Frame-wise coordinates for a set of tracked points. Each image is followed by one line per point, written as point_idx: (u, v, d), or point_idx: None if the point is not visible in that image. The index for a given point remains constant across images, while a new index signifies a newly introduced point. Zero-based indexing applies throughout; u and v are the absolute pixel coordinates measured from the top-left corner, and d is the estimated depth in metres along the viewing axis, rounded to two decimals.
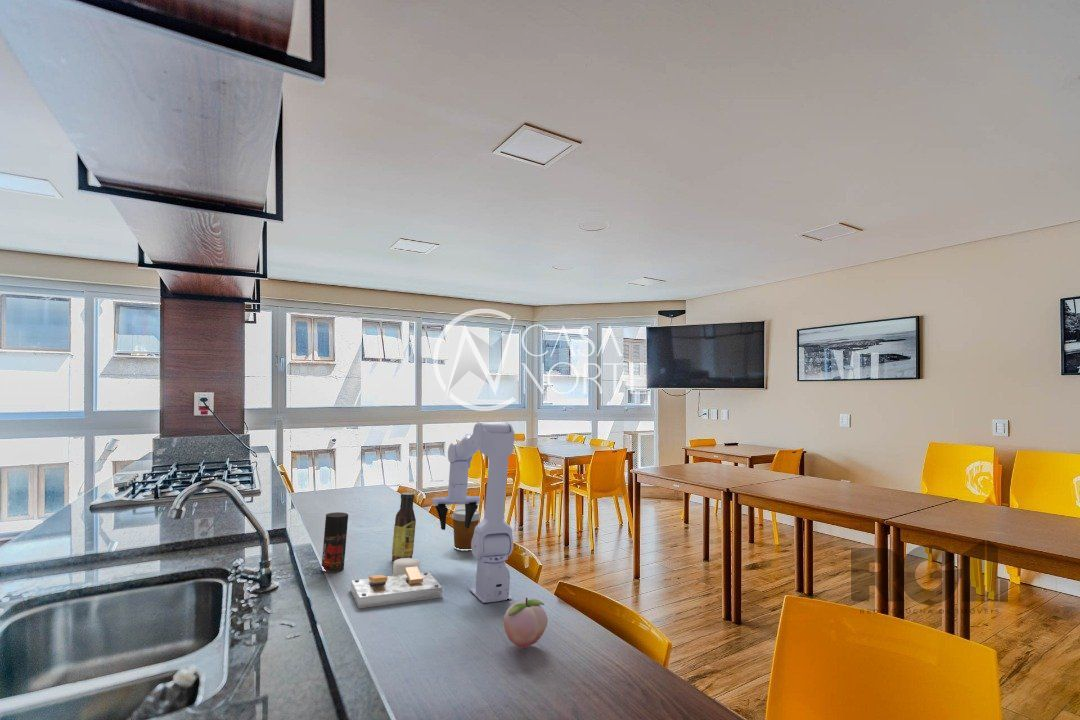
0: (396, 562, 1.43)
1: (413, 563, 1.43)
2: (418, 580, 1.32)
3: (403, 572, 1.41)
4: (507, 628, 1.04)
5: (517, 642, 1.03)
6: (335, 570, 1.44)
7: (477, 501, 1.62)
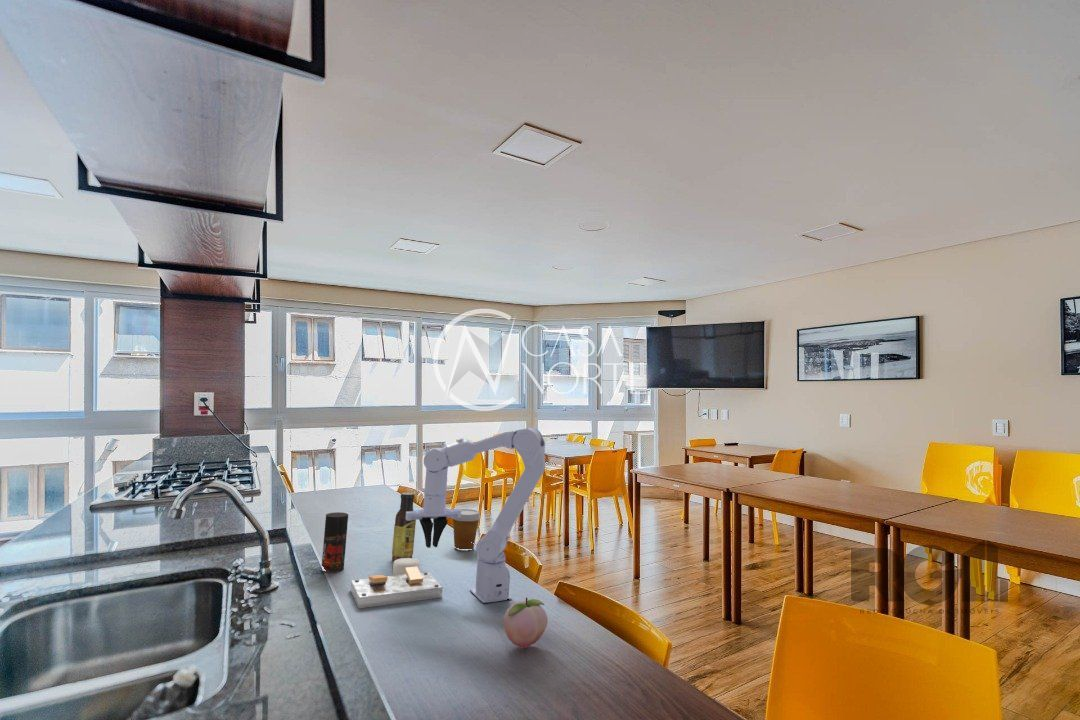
0: (396, 562, 1.43)
1: (413, 563, 1.43)
2: (418, 580, 1.32)
3: (403, 572, 1.41)
4: (507, 628, 1.04)
5: (517, 642, 1.03)
6: (335, 570, 1.44)
7: (457, 515, 1.41)
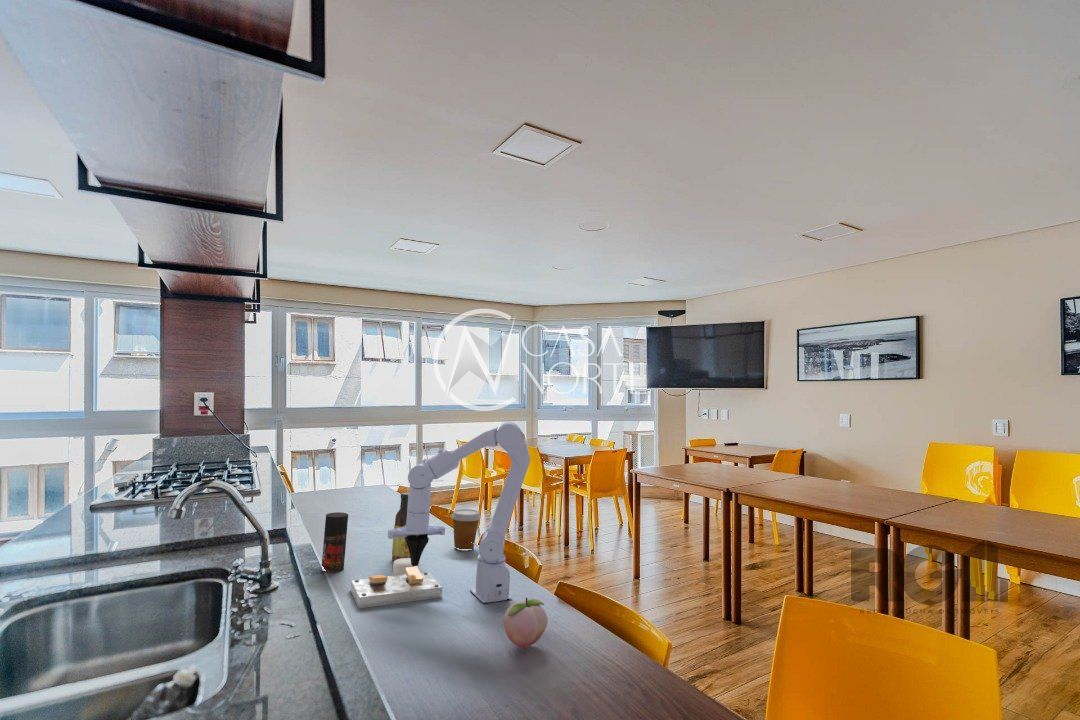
0: (396, 562, 1.43)
1: None
2: (418, 580, 1.32)
3: (403, 572, 1.41)
4: (507, 628, 1.04)
5: (517, 642, 1.03)
6: (335, 570, 1.44)
7: (441, 532, 1.37)
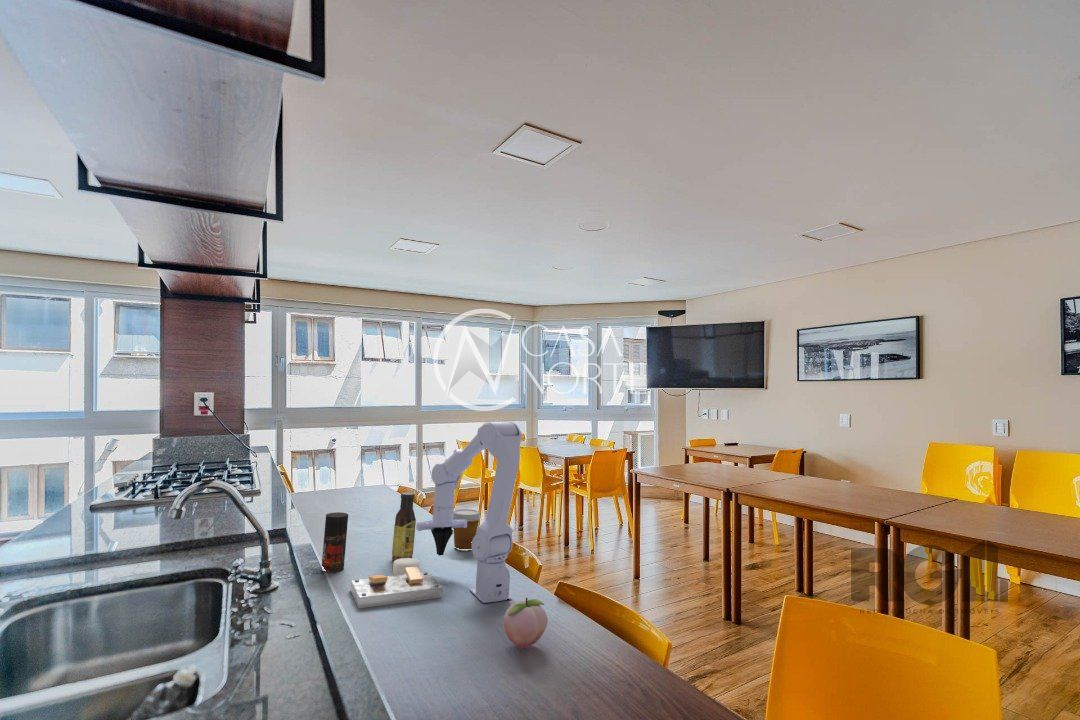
0: (396, 562, 1.43)
1: (413, 563, 1.43)
2: (418, 580, 1.32)
3: (403, 572, 1.41)
4: (507, 628, 1.04)
5: (517, 642, 1.03)
6: (335, 570, 1.44)
7: (464, 525, 1.52)
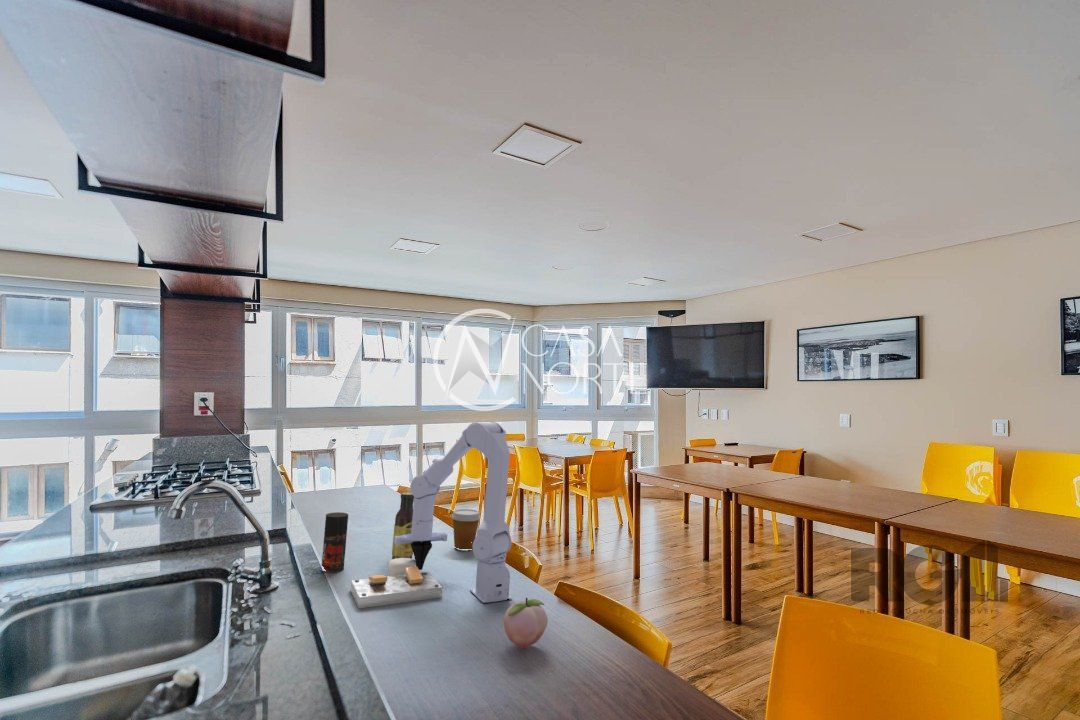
0: (392, 562, 1.43)
1: (409, 563, 1.43)
2: (418, 580, 1.32)
3: (399, 572, 1.40)
4: (507, 628, 1.04)
5: (517, 642, 1.03)
6: (335, 570, 1.44)
7: (444, 538, 1.49)
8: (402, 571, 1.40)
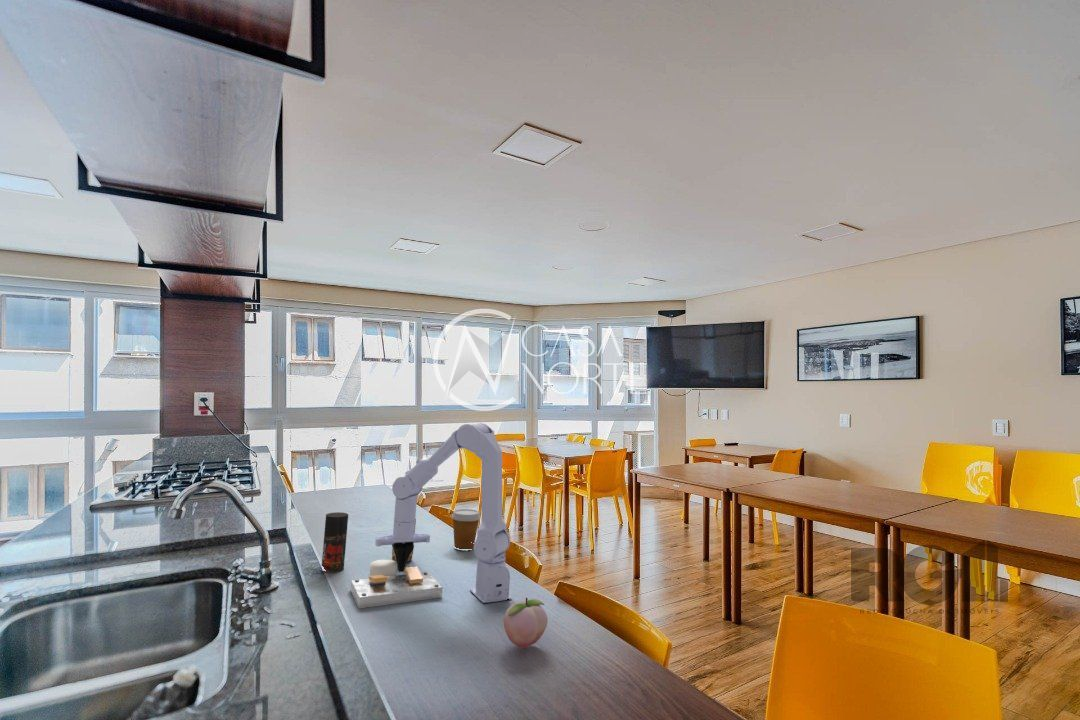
0: (373, 564, 1.40)
1: (390, 565, 1.40)
2: (418, 580, 1.32)
3: (379, 574, 1.38)
4: (507, 628, 1.04)
5: (517, 642, 1.03)
6: (335, 570, 1.44)
7: (426, 540, 1.46)
8: (383, 573, 1.38)
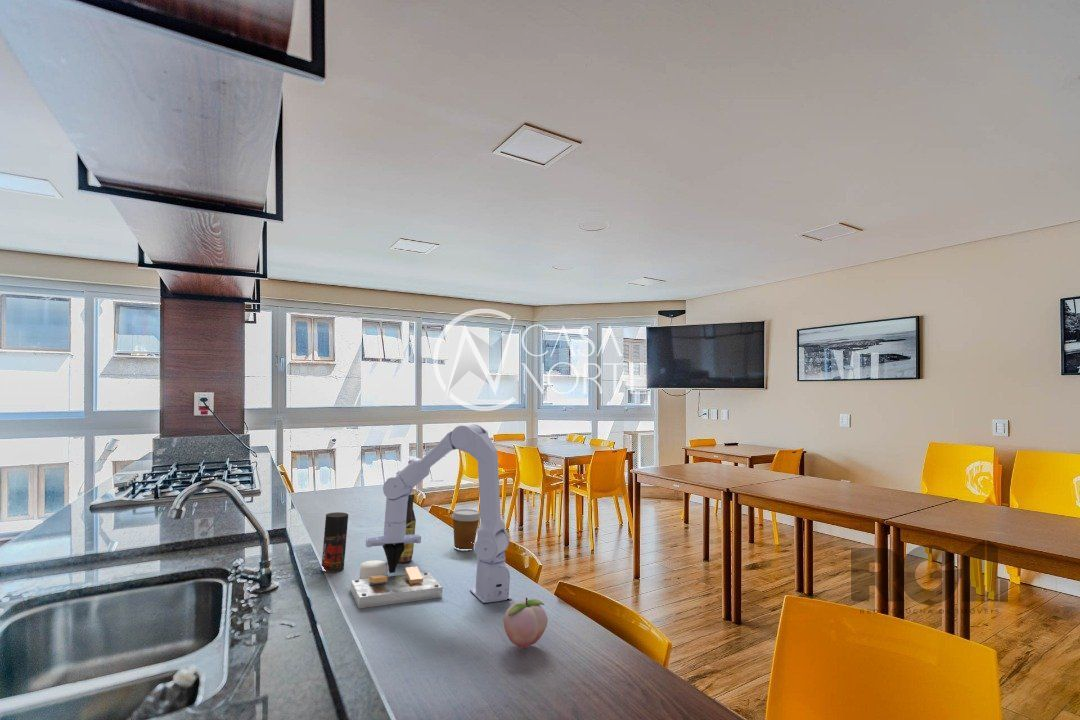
0: (363, 565, 1.39)
1: (380, 566, 1.39)
2: (418, 580, 1.32)
3: (369, 575, 1.37)
4: (507, 628, 1.04)
5: (517, 642, 1.03)
6: (335, 570, 1.44)
7: (417, 540, 1.45)
8: (372, 574, 1.37)
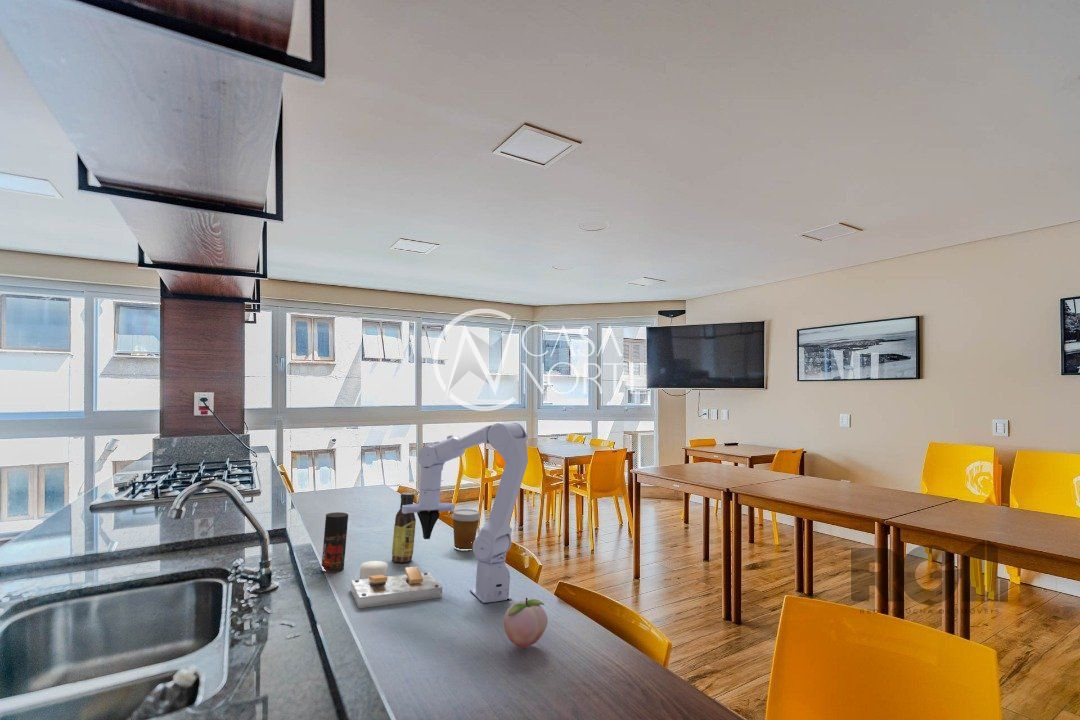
0: (363, 565, 1.39)
1: (380, 566, 1.39)
2: (418, 580, 1.32)
3: None
4: (507, 628, 1.04)
5: (517, 642, 1.03)
6: (335, 570, 1.44)
7: (451, 508, 1.48)
8: (372, 575, 1.37)
